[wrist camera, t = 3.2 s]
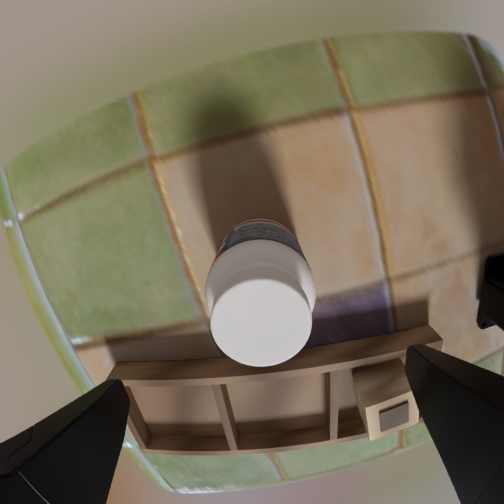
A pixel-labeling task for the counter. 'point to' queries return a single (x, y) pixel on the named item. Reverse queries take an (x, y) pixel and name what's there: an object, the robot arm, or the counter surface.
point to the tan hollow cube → (385, 399)
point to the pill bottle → (260, 294)
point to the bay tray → (257, 398)
